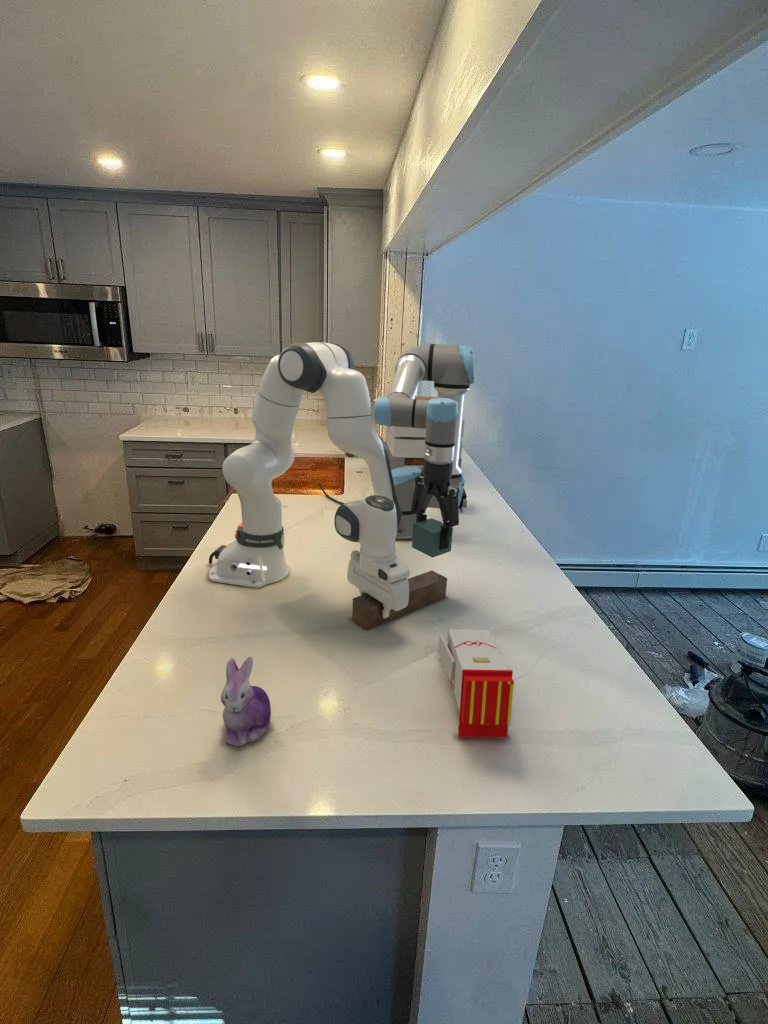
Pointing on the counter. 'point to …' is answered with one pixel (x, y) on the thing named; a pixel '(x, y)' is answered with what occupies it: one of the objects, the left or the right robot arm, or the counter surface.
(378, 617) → the plank
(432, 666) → the counter surface
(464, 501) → the figurine character
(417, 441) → the white storage bin
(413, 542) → the cap block
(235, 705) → the figurine
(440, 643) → the toy
